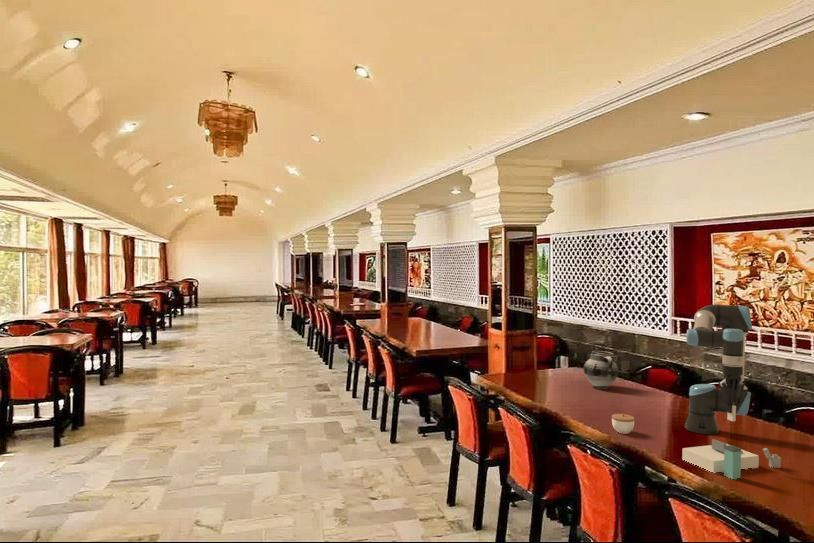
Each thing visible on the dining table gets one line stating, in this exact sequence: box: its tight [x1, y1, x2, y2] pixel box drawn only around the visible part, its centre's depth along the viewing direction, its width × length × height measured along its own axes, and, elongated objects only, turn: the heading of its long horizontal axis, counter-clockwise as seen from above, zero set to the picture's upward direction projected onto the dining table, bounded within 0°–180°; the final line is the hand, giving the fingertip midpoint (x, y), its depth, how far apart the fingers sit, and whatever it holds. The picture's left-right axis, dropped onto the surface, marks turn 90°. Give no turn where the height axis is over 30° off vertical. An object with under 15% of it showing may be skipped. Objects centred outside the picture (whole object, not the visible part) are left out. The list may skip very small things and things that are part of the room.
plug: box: [723, 444, 742, 480], centre depth 214 cm, size 4×4×12 cm
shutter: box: [711, 438, 743, 453], centre depth 230 cm, size 9×8×4 cm
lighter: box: [762, 447, 782, 469], centre depth 226 cm, size 7×2×8 cm, turn 95°
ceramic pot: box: [583, 350, 620, 390], centre depth 372 cm, size 29×23×25 cm
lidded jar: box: [611, 413, 636, 435], centre depth 272 cm, size 11×11×9 cm
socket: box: [681, 443, 760, 474], centre depth 229 cm, size 24×16×5 cm, turn 108°
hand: (731, 420), depth 230 cm, fingers closed
